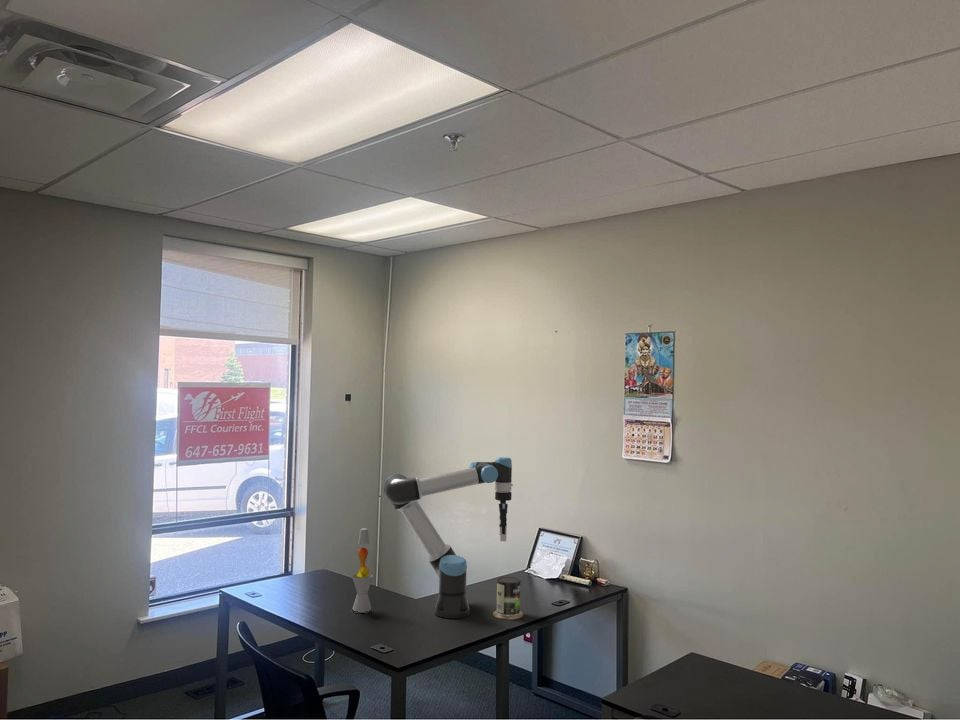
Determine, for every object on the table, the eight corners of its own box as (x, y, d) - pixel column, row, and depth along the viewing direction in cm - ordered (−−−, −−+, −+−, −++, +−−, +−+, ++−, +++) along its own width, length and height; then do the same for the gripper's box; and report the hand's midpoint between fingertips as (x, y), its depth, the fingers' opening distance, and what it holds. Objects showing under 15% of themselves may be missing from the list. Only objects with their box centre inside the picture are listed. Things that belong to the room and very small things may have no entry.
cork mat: (493, 619, 293) (493, 617, 293) (492, 610, 306) (492, 608, 306) (524, 619, 293) (524, 618, 293) (521, 610, 306) (521, 608, 306)
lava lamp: (347, 610, 301) (349, 528, 303) (364, 606, 308) (366, 526, 309) (359, 615, 295) (361, 531, 297) (376, 611, 301) (378, 529, 303)
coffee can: (523, 611, 302) (524, 578, 302) (513, 618, 293) (514, 584, 293) (502, 608, 306) (503, 575, 307) (491, 614, 297) (492, 580, 298)
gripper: (512, 495, 308) (512, 543, 307) (510, 487, 333) (510, 532, 332) (495, 495, 308) (495, 543, 307) (494, 487, 333) (494, 532, 332)
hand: (502, 538), depth 319 cm, fingers open, 13 cm apart
